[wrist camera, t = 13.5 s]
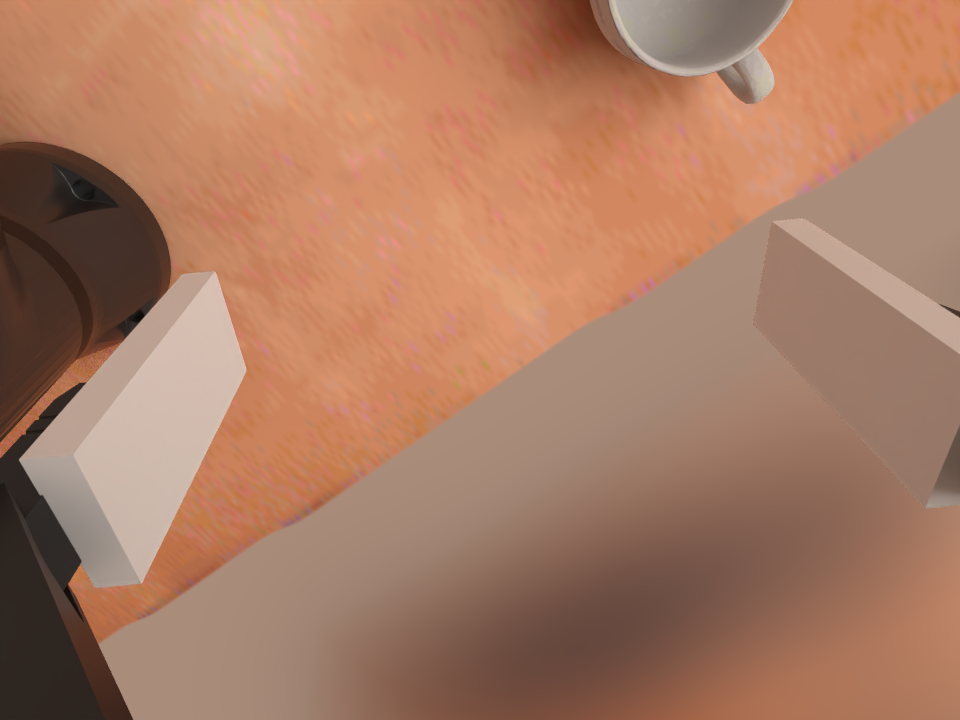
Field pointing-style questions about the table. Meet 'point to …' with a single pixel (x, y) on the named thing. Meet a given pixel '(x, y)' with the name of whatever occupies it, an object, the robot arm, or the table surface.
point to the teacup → (696, 38)
